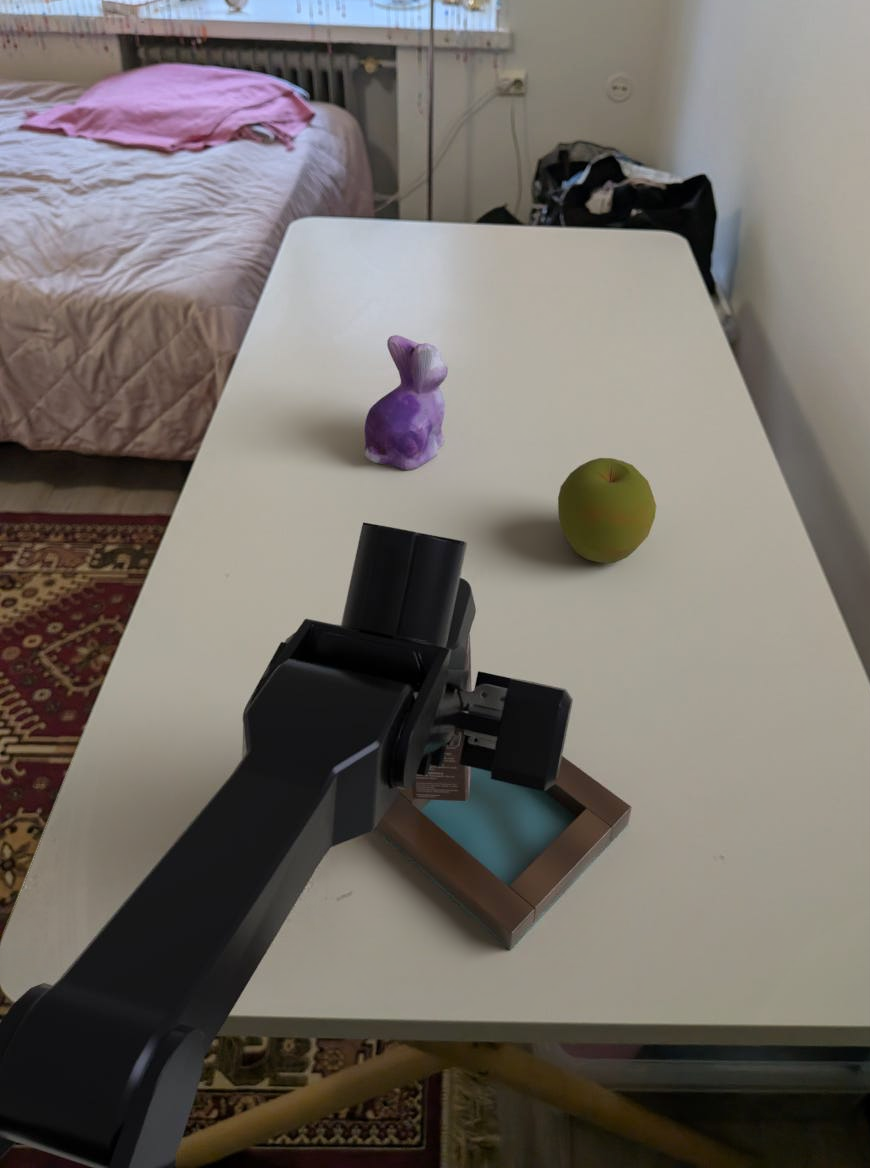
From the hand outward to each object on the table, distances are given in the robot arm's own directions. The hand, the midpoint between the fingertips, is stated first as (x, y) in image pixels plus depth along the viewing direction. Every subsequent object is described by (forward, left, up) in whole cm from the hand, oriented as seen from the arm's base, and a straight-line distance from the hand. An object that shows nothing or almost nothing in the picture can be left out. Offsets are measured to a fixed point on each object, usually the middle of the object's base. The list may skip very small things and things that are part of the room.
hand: (444, 701), depth 69 cm
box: (-1, 0, -7) cm, 7 cm away
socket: (-1, -5, -12) cm, 13 cm away
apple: (+34, -8, -12) cm, 37 cm away
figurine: (+46, +17, -12) cm, 51 cm away
